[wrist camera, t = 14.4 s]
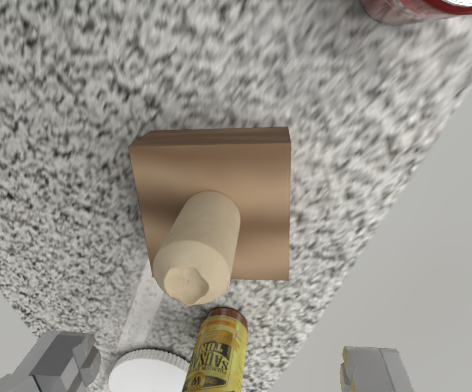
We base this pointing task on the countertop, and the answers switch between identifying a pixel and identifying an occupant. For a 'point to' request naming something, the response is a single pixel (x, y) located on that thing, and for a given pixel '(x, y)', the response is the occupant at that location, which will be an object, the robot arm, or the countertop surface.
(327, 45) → the countertop surface
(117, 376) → the plastic lid
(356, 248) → the countertop surface
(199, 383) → the sauce bottle
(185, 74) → the countertop surface
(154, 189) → the walnut stand
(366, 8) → the soda can
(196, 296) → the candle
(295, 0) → the countertop surface
